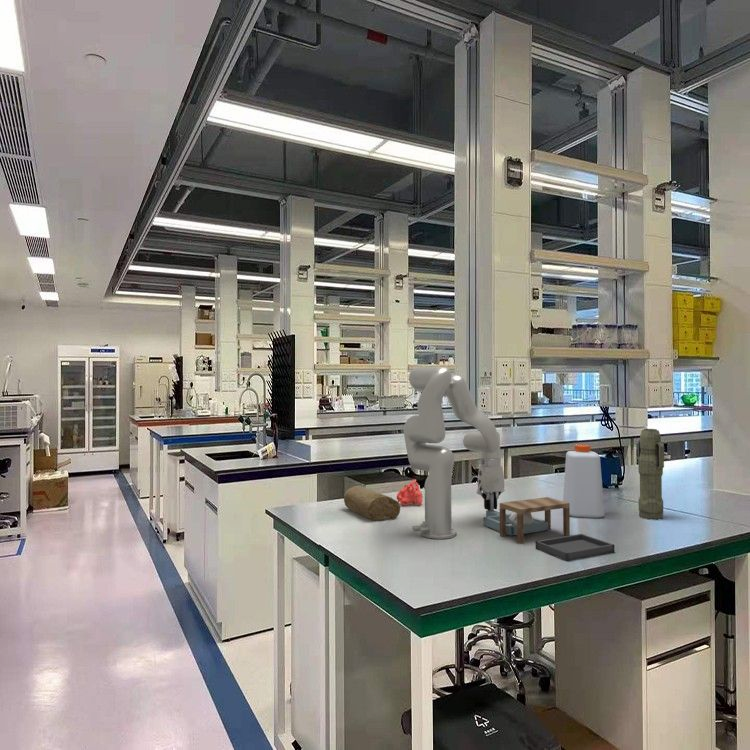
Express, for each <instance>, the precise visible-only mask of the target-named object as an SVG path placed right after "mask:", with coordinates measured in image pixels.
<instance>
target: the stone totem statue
mask: <svg viewBox="0 0 750 750" xmlns="http://www.w3.org/2000/svg"><path fill="white" fill-rule="evenodd" d="M636 451H637V452H636V453H637V464H638V474H639V497H638V513H639V514H638V517H639V516H640V517H639V518H641V517H642V518H641V519H644V518H647V519H646V520H650V519H656V520H655V521H659V520H658V519H661V520H663V519H664V516H663V514H664V500H663V496H662V495H663V491H662V490H663V488H662V485H663V484H662V483H663V482H662V477H663V475H664V467H665V445H664V443H663V442H662V437H661V434H660V430H659V429H656V428H644V429H642V430H641V432H640V436H639V440H638V442H637V450H636Z"/></svg>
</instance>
